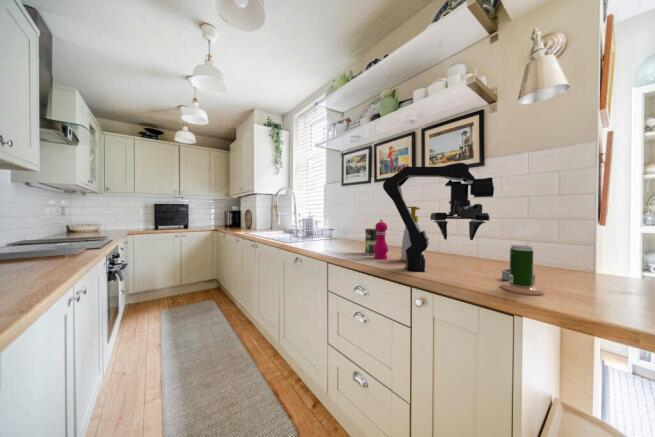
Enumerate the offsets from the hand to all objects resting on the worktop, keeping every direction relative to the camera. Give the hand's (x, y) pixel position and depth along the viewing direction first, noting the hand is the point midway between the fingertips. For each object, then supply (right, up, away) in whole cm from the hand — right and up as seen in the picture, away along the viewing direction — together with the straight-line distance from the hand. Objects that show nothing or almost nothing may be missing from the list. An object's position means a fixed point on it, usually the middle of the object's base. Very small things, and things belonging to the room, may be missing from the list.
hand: (458, 239), depth 86 cm
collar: (+16, -13, -7) cm, 22 cm away
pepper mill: (-21, -13, +32) cm, 41 cm away
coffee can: (-22, -12, +44) cm, 51 cm away
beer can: (+9, -13, -17) cm, 23 cm away
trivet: (+9, -13, -17) cm, 23 cm away
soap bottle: (-8, -13, +25) cm, 29 cm away
